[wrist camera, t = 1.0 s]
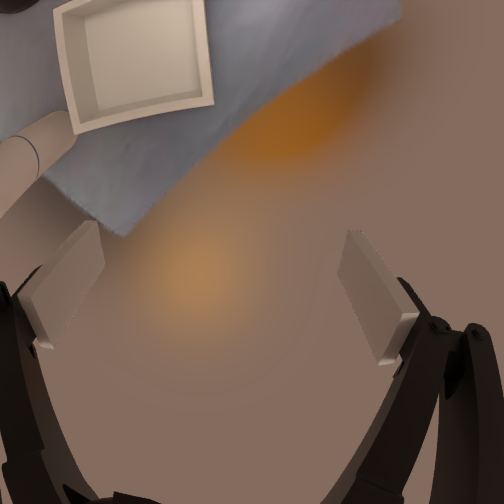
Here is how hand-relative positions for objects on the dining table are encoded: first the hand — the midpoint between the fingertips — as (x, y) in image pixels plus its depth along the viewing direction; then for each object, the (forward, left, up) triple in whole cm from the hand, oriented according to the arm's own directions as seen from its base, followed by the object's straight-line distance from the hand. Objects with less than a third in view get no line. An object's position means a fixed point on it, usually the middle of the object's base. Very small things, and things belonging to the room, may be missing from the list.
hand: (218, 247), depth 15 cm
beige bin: (-12, -9, -31) cm, 34 cm away
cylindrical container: (-3, -25, -31) cm, 40 cm away
